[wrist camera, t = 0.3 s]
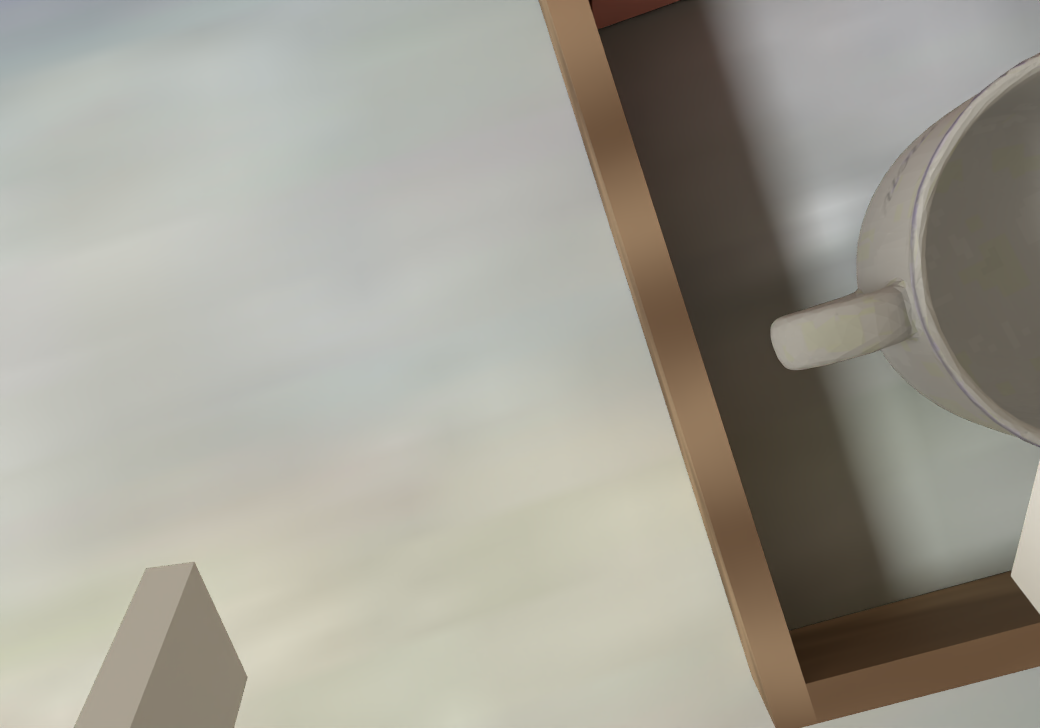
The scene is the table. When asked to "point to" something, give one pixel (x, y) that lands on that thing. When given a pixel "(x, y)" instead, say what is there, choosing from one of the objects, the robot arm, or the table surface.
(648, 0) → the pink flat slab
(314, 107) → the table surface
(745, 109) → the table surface
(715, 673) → the table surface
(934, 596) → the crate
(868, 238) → the teacup
